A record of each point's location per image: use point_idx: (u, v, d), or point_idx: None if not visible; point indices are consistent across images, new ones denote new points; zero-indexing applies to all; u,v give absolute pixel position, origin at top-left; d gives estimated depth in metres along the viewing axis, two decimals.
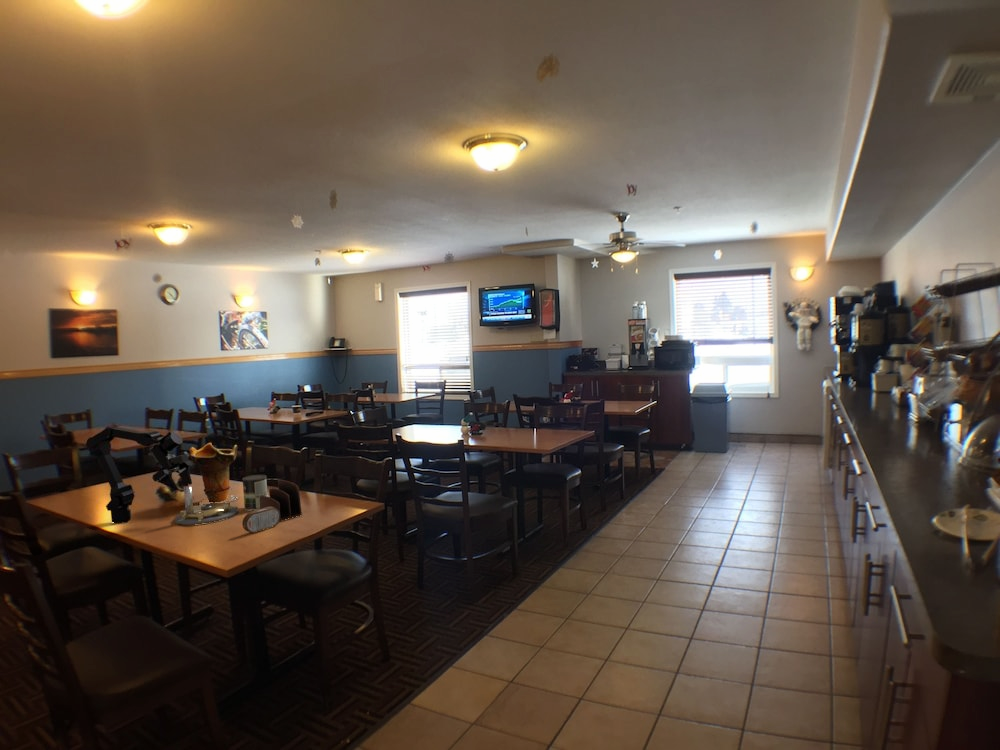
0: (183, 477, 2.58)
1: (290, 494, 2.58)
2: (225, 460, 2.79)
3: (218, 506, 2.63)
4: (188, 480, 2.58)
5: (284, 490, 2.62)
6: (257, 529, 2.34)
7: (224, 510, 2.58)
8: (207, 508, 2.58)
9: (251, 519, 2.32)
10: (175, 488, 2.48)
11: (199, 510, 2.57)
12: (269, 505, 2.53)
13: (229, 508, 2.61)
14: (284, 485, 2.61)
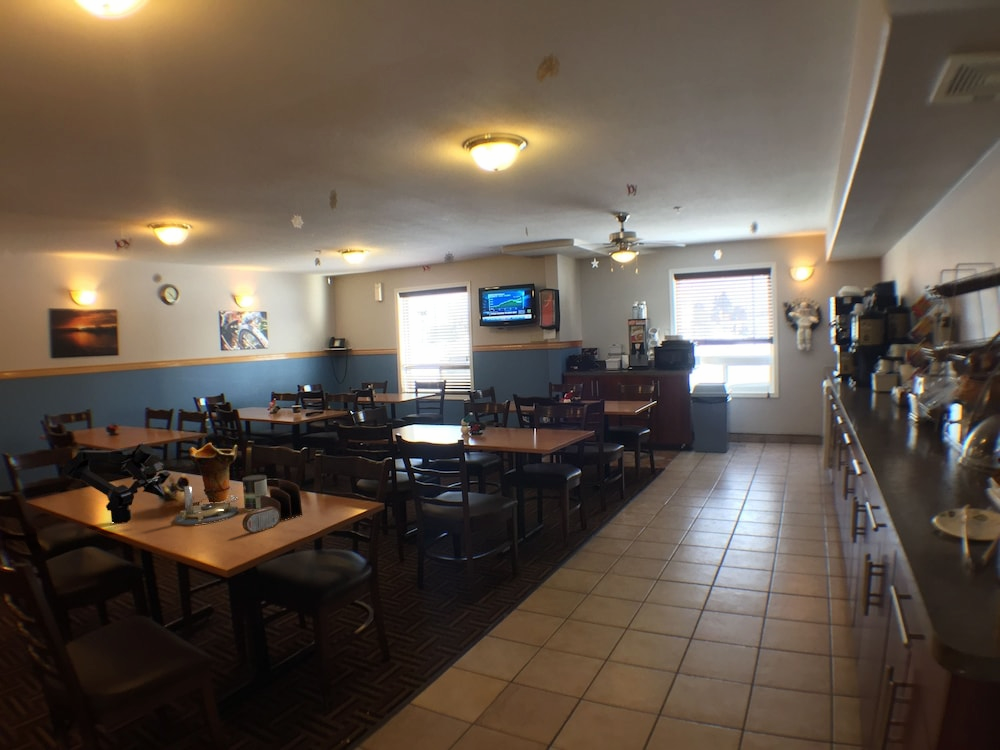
0: None
1: (291, 494, 2.58)
2: (225, 460, 2.79)
3: (218, 506, 2.63)
4: None
5: (285, 490, 2.62)
6: (257, 529, 2.34)
7: (224, 510, 2.58)
8: (207, 508, 2.58)
9: (251, 519, 2.32)
10: (161, 494, 2.54)
11: (199, 510, 2.57)
12: (270, 505, 2.54)
13: (229, 508, 2.61)
14: (285, 485, 2.62)
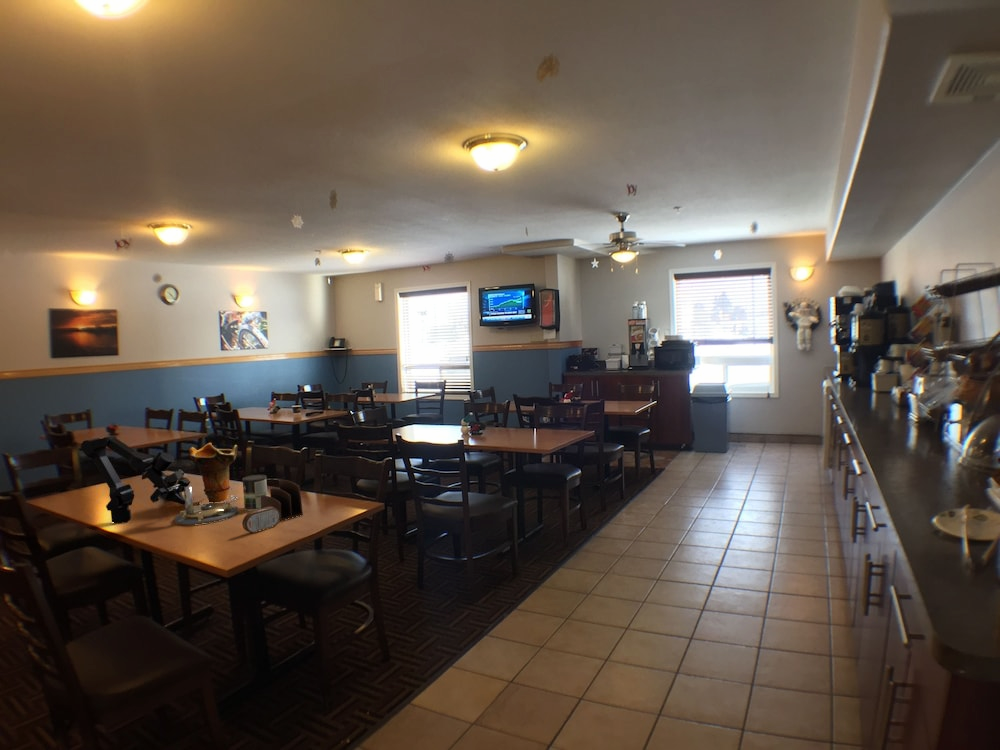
0: None
1: (291, 494, 2.59)
2: (225, 460, 2.79)
3: (218, 506, 2.63)
4: None
5: (285, 490, 2.63)
6: (257, 529, 2.34)
7: (224, 510, 2.58)
8: (207, 508, 2.58)
9: (251, 519, 2.32)
10: (182, 502, 2.52)
11: (199, 510, 2.57)
12: (270, 505, 2.54)
13: (229, 508, 2.61)
14: (285, 485, 2.62)
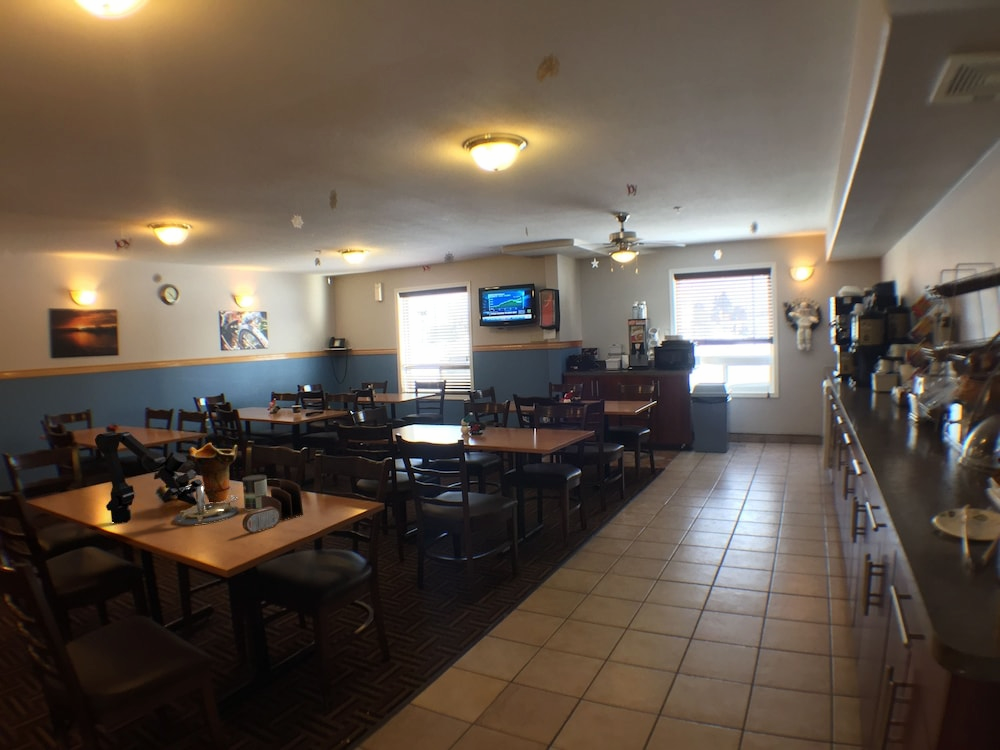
0: None
1: (291, 494, 2.59)
2: (225, 460, 2.79)
3: (213, 505, 2.64)
4: None
5: (286, 490, 2.63)
6: (257, 529, 2.34)
7: (229, 506, 2.64)
8: (210, 507, 2.59)
9: (251, 519, 2.32)
10: (194, 503, 2.50)
11: (204, 510, 2.56)
12: (271, 505, 2.54)
13: None
14: (286, 485, 2.62)
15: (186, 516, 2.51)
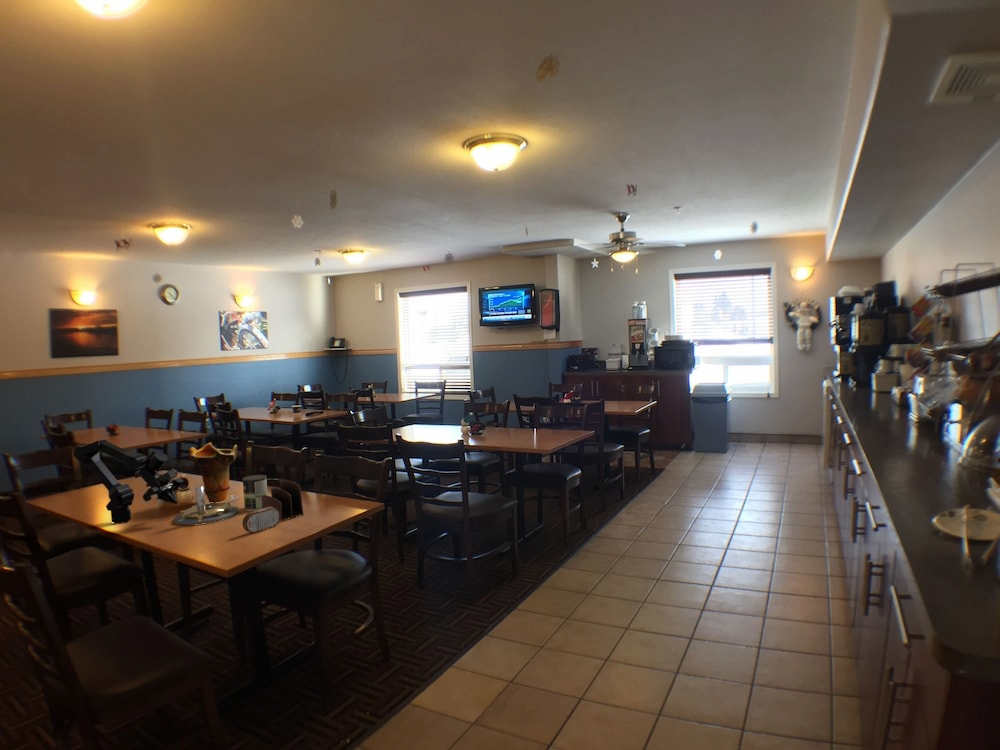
0: None
1: (292, 494, 2.59)
2: (225, 460, 2.79)
3: (213, 505, 2.64)
4: None
5: (286, 490, 2.63)
6: (257, 529, 2.34)
7: (229, 506, 2.64)
8: (211, 507, 2.59)
9: (251, 519, 2.32)
10: (175, 502, 2.53)
11: (204, 510, 2.56)
12: (271, 504, 2.54)
13: None
14: (286, 484, 2.62)
15: (186, 516, 2.51)
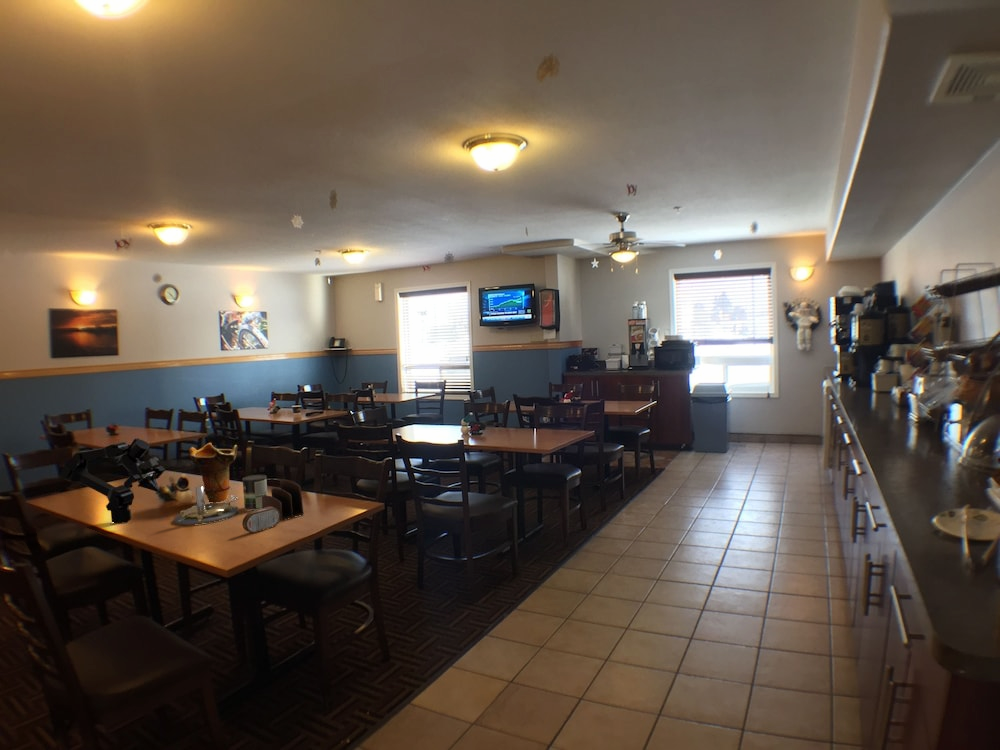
0: None
1: (292, 493, 2.59)
2: (225, 460, 2.79)
3: (213, 505, 2.64)
4: None
5: (286, 489, 2.63)
6: (257, 529, 2.34)
7: (229, 506, 2.64)
8: (211, 507, 2.59)
9: (251, 519, 2.32)
10: (156, 489, 2.54)
11: (204, 510, 2.56)
12: (271, 504, 2.54)
13: None
14: (286, 484, 2.62)
15: (186, 516, 2.51)
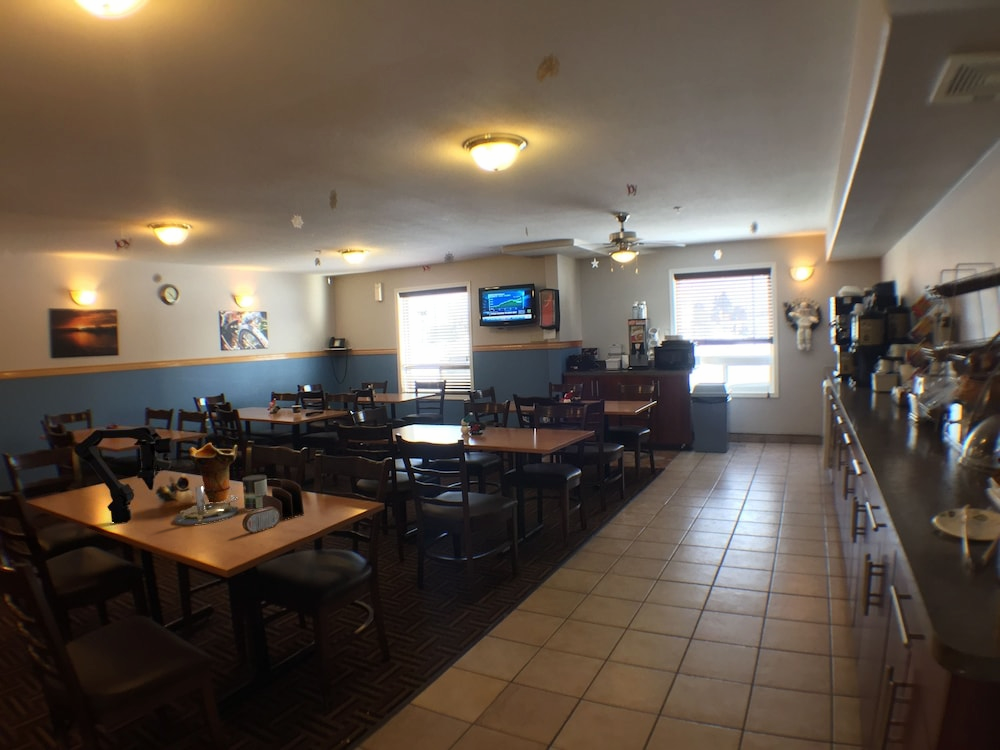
0: None
1: (292, 493, 2.59)
2: (225, 460, 2.79)
3: (213, 505, 2.64)
4: None
5: (286, 489, 2.63)
6: (257, 529, 2.34)
7: (229, 506, 2.64)
8: (211, 507, 2.59)
9: (251, 519, 2.32)
10: (151, 488, 2.59)
11: (204, 510, 2.56)
12: (271, 504, 2.55)
13: None
14: (287, 484, 2.62)
15: (186, 516, 2.51)
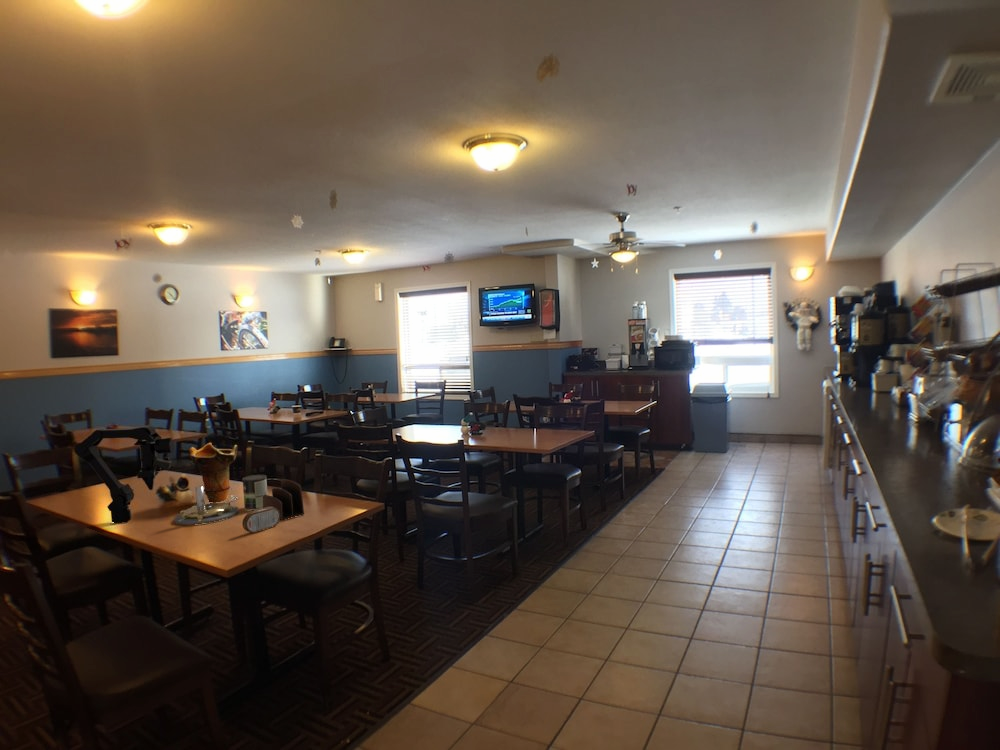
0: None
1: (293, 493, 2.59)
2: (225, 460, 2.79)
3: (213, 505, 2.64)
4: None
5: (287, 489, 2.63)
6: (257, 529, 2.34)
7: (229, 506, 2.64)
8: (211, 507, 2.59)
9: (251, 519, 2.32)
10: (151, 488, 2.59)
11: (204, 510, 2.56)
12: (272, 504, 2.55)
13: None
14: (287, 484, 2.63)
15: (186, 516, 2.51)
